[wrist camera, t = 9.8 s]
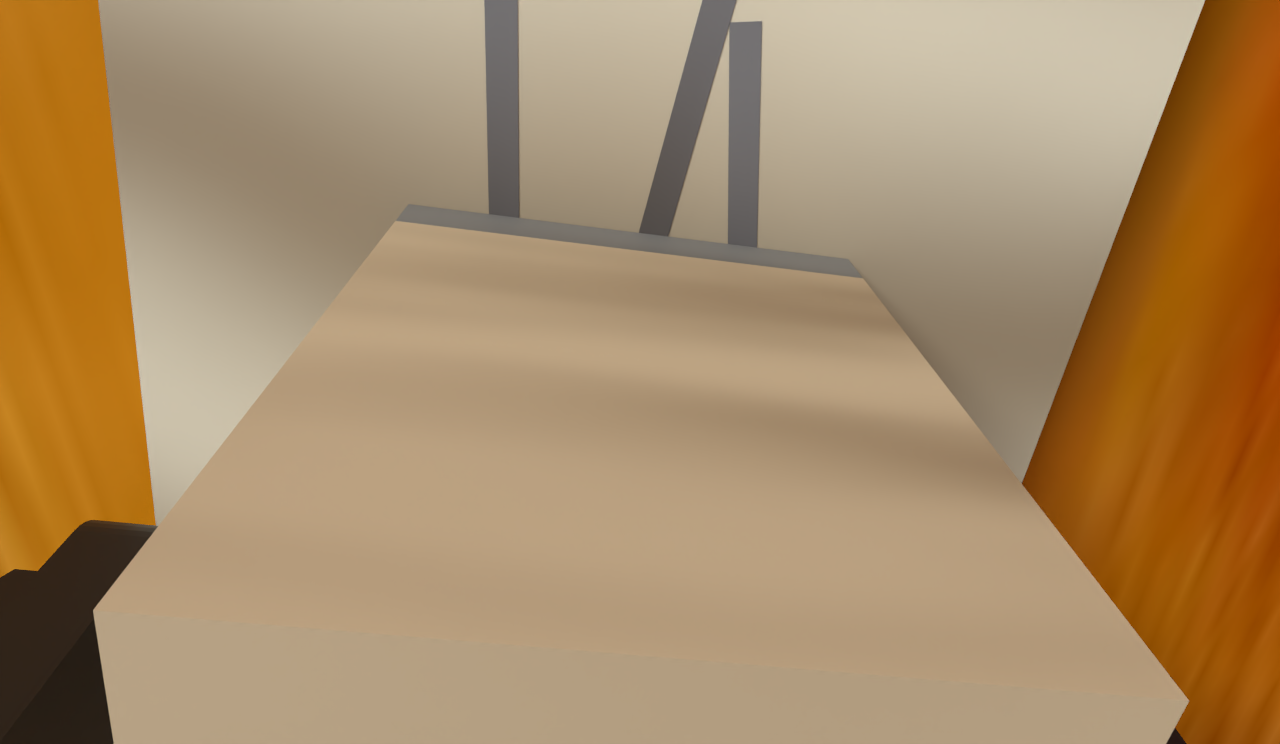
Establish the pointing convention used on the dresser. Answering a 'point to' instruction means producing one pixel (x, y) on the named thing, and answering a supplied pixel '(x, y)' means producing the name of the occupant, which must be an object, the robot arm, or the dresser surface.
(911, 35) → the board
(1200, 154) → the dresser surface
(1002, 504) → the block
